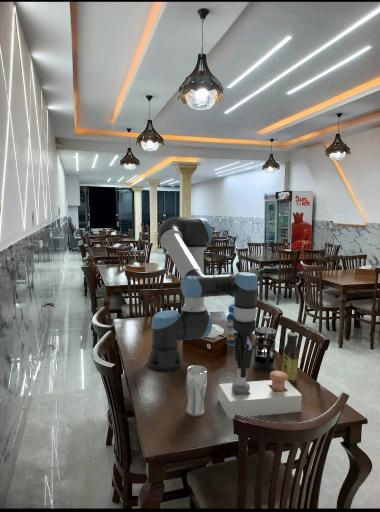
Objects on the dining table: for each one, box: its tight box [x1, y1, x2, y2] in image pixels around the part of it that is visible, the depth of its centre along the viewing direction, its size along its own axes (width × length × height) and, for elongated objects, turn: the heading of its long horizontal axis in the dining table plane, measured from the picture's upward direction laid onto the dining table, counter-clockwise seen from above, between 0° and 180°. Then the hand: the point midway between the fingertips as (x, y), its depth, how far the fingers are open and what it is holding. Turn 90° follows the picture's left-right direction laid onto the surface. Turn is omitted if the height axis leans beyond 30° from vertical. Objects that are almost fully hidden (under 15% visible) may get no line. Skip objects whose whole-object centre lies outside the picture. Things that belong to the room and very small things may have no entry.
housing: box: [217, 379, 303, 419], centre depth 126 cm, size 26×12×6 cm, turn 102°
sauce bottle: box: [281, 331, 300, 384], centre depth 145 cm, size 6×6×20 cm
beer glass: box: [185, 364, 208, 417], centre depth 121 cm, size 7×7×15 cm
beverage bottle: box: [225, 303, 237, 347], centre depth 184 cm, size 8×8×20 cm
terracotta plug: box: [269, 370, 288, 392], centre depth 127 cm, size 6×6×6 cm
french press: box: [252, 315, 277, 372], centre depth 157 cm, size 12×9×23 cm
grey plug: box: [232, 380, 250, 396], centre depth 124 cm, size 6×6×6 cm
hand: (241, 384), depth 124 cm, fingers closed
